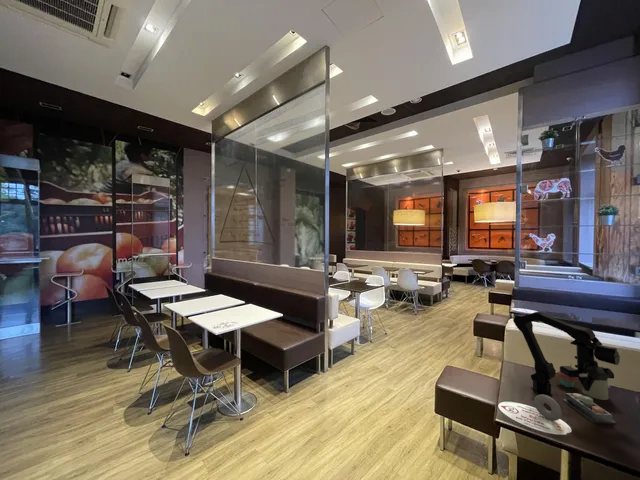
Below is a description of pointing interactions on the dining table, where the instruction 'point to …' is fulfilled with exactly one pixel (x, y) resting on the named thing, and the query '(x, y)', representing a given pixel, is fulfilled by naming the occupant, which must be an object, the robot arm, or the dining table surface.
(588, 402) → the green rounded piece
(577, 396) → the white egg
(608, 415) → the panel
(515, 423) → the dining table surface
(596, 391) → the can
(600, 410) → the brown egg
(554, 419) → the donut
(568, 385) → the cupcake
